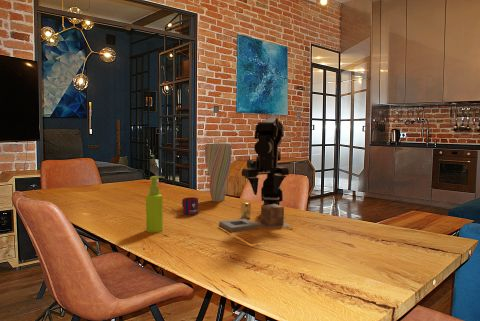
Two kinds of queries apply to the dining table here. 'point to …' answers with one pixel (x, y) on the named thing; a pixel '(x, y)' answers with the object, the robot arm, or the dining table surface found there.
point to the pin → (245, 210)
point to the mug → (190, 206)
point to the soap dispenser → (154, 208)
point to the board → (271, 226)
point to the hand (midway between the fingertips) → (265, 193)
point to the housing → (272, 215)
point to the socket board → (238, 225)
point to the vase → (218, 168)
